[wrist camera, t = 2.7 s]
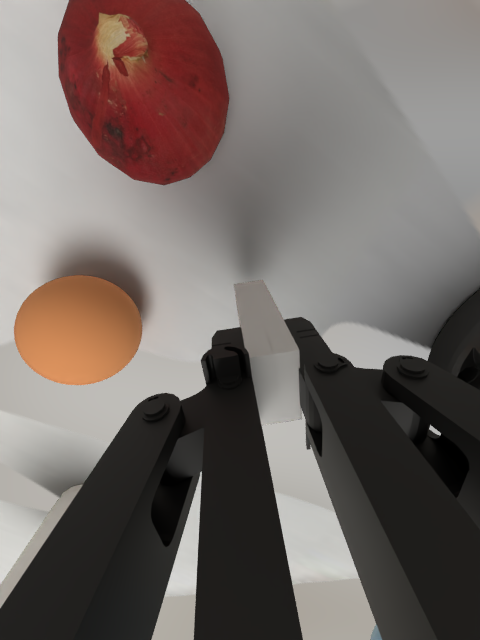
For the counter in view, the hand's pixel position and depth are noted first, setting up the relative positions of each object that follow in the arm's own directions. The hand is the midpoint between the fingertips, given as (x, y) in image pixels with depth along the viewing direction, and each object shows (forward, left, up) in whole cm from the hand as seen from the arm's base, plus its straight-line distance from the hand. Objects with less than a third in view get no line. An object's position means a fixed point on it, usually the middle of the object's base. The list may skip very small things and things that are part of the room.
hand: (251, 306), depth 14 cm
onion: (+9, -4, -4) cm, 10 cm away
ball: (+6, +7, -1) cm, 9 cm away
